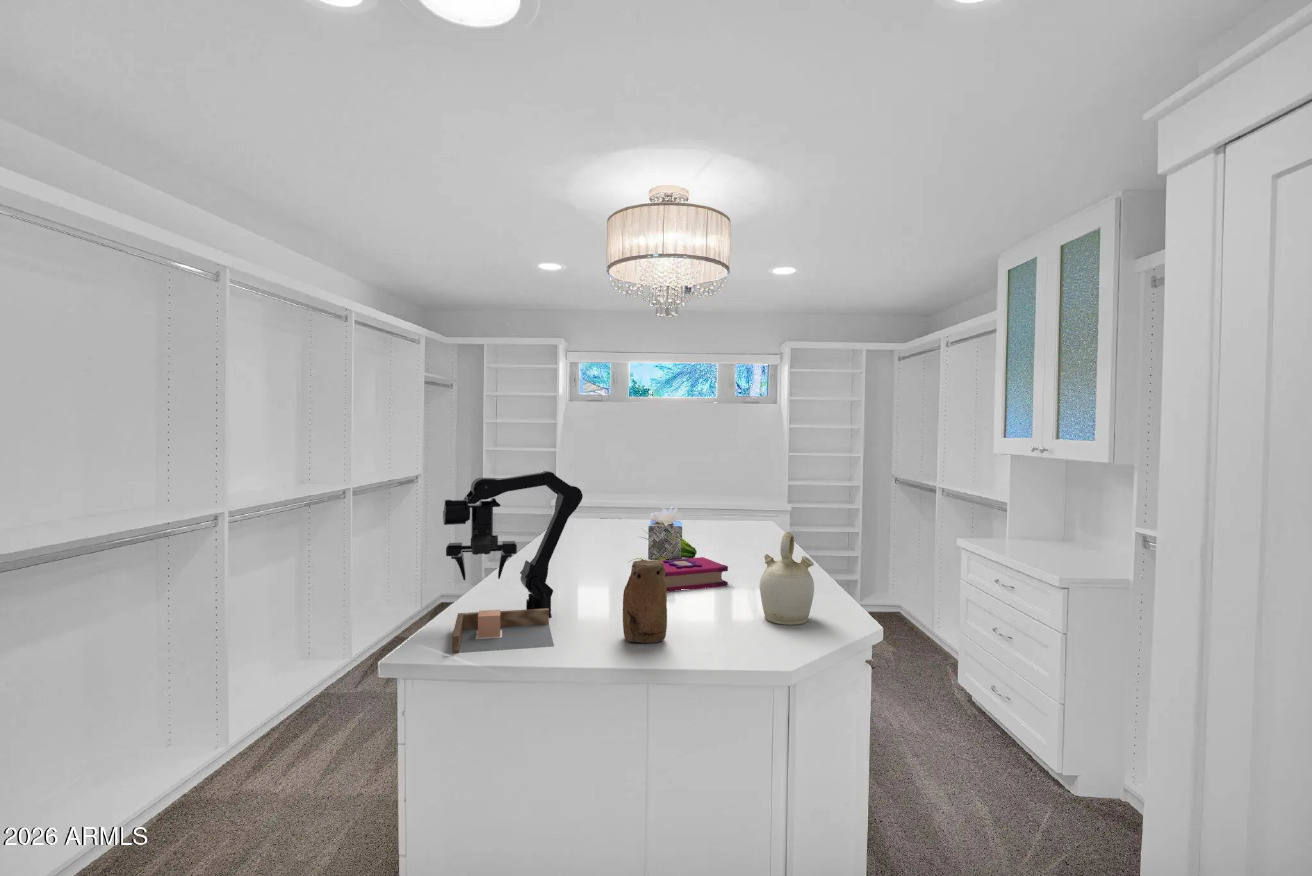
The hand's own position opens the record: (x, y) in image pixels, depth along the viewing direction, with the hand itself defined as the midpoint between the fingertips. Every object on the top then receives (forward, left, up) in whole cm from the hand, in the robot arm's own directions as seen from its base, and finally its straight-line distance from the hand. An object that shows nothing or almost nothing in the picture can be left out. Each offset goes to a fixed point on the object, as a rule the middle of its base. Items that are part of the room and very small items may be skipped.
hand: (481, 579), depth 178 cm
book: (-67, -35, -13) cm, 77 cm away
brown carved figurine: (-41, +24, -12) cm, 49 cm away
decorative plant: (-70, -72, -12) cm, 101 cm away
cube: (-2, +12, -12) cm, 17 cm away
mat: (-6, +15, -12) cm, 20 cm away
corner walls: (-6, +15, -12) cm, 20 cm away
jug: (-85, +14, -12) cm, 87 cm away
